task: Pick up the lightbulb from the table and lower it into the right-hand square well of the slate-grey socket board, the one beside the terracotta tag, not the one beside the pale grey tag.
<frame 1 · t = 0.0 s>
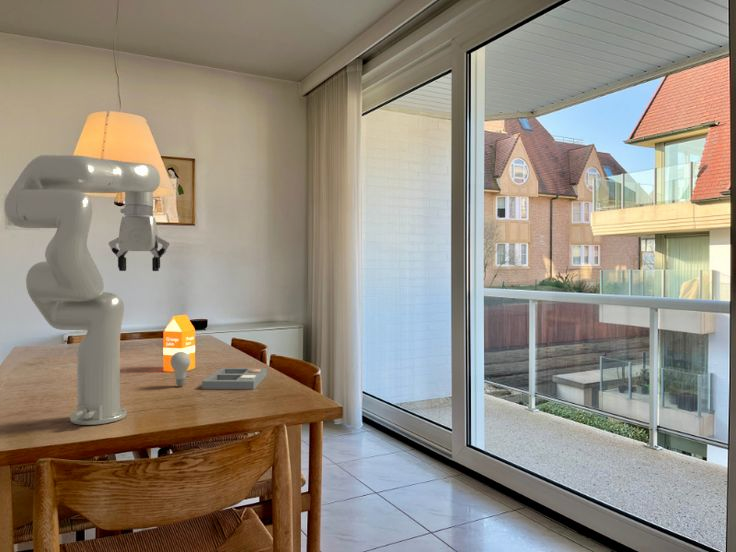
hand: (139, 270, 157), 37 cm above the table, tool pointing down, fingers open, 9 cm apart
orange juice: (179, 369, 197), on the table
lightbulb: (180, 387, 170), on the table
socket board: (236, 381, 177), on the table
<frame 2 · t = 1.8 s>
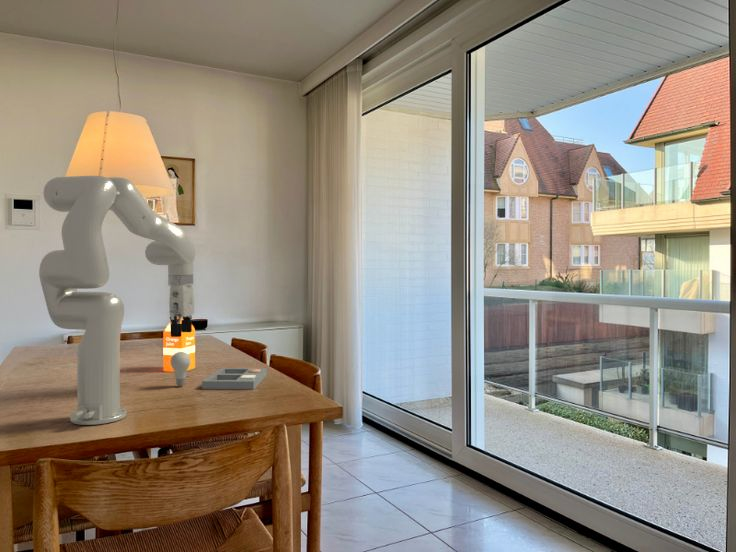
hand: (181, 334, 170), 17 cm above the table, tool pointing down, fingers open, 9 cm apart
nothing on the table moved.
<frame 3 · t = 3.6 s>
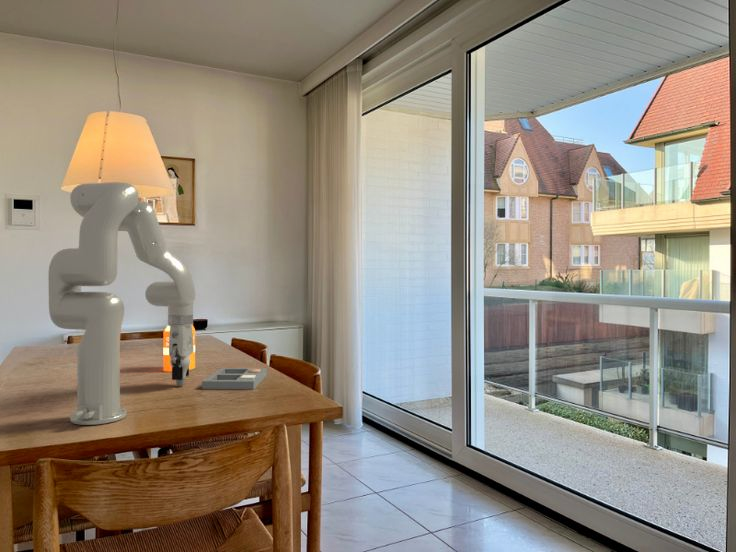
hand: (180, 377, 169), 3 cm above the table, tool pointing down, fingers closed on lightbulb, 5 cm apart
lightbulb: (180, 387, 170), on the table, touching gripper
everything else where it was.
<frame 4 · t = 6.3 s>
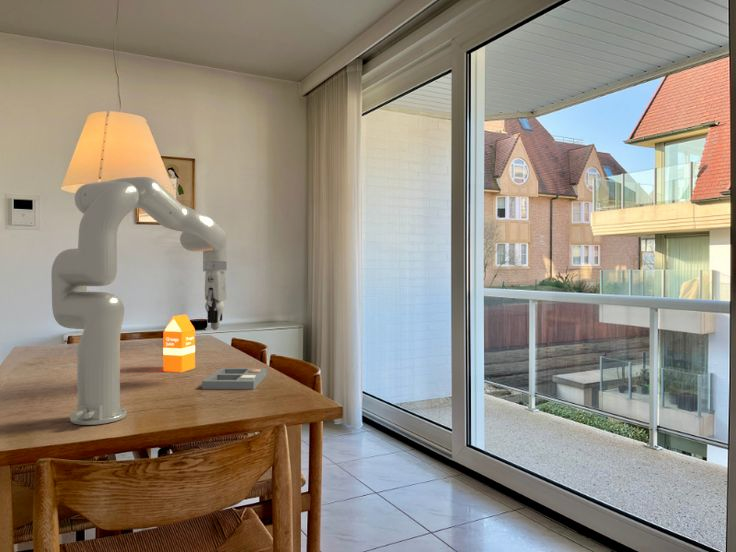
hand: (215, 321, 177), 20 cm above the table, tool pointing down, fingers closed on lightbulb, 5 cm apart
lightbulb: (214, 330, 177), point 17 cm above the table, touching gripper
everything else where it was.
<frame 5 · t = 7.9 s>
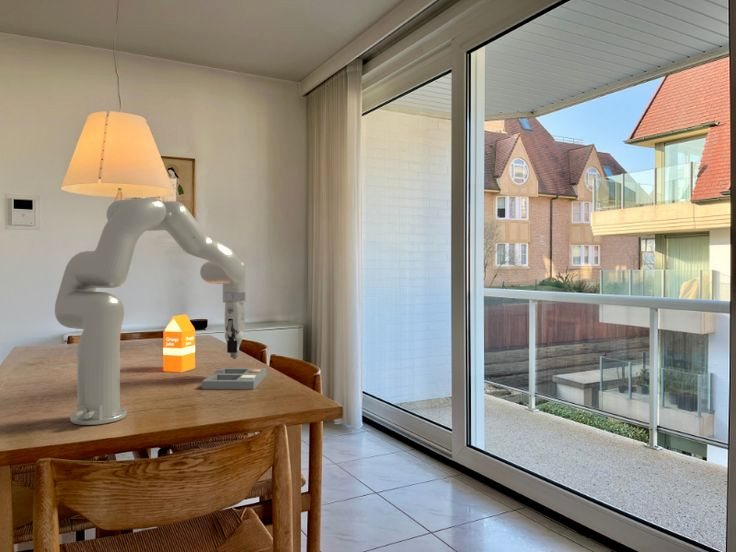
hand: (234, 350, 182), 10 cm above the table, tool pointing down, fingers closed on lightbulb, 5 cm apart
lightbulb: (234, 359, 182), point 6 cm above the table, touching gripper
everything else where it was.
when the fingers open (4 cm above the table, at t = 9.2 s): lightbulb drops 1 cm, resting in socket board.
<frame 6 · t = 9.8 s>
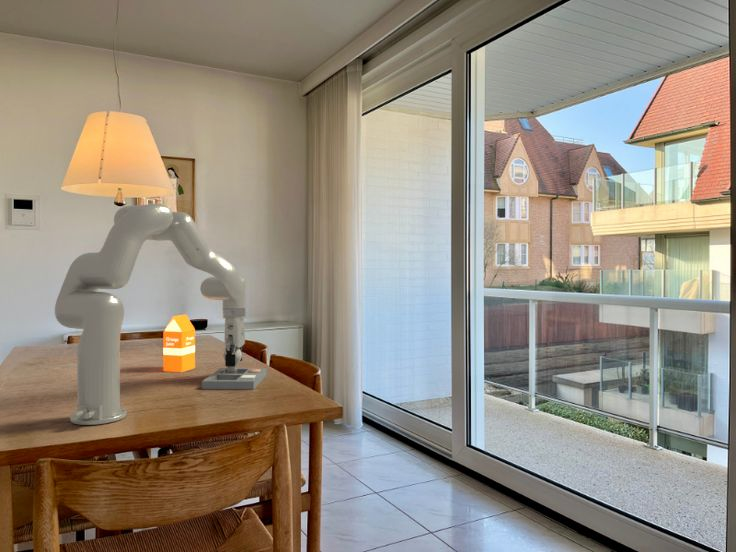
hand: (233, 363, 182), 5 cm above the table, tool pointing down, fingers open, 9 cm apart
lightbulb: (232, 379, 181), resting in socket board
everything else where it was.
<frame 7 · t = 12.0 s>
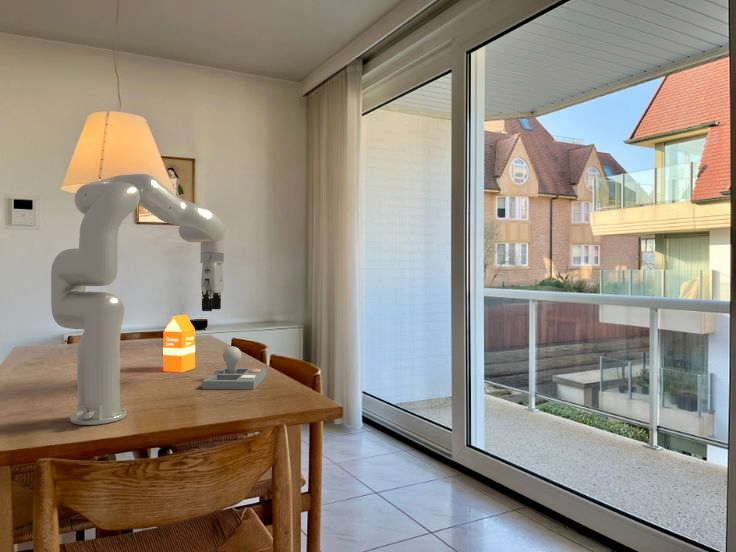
hand: (211, 310, 178), 24 cm above the table, tool pointing down, fingers open, 9 cm apart
nothing on the table moved.
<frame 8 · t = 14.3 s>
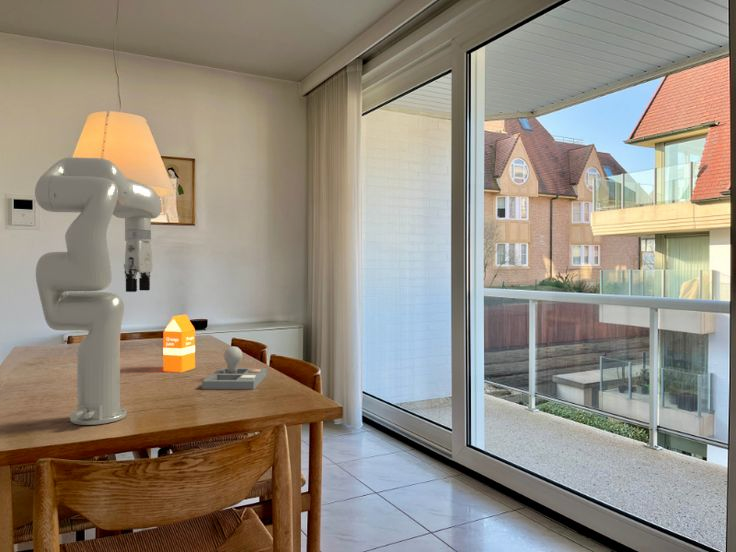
hand: (138, 291, 168), 30 cm above the table, tool pointing down, fingers open, 9 cm apart
nothing on the table moved.
at the end: lightbulb 0.5 cm from the target spot on the socket board, point 0.0 cm above the socket board's base; the gripper is holding nothing; lightbulb tilted 2° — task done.
